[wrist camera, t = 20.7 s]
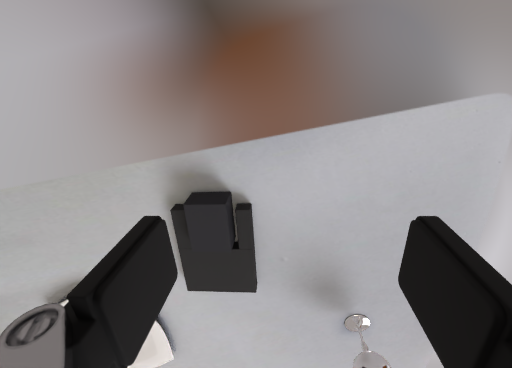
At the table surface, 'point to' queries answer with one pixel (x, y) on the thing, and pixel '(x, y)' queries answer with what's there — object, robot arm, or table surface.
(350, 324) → the wineglass
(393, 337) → the table surface
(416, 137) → the table surface
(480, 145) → the table surface
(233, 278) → the socket pad
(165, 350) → the plate
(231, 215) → the black rectangular block
